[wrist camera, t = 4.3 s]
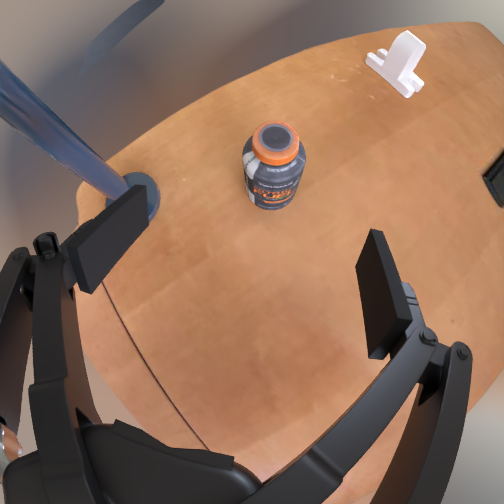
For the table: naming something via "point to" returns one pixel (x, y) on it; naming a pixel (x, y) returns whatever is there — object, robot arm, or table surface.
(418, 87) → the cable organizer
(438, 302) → the table surface
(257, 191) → the pill bottle
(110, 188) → the square tray stand
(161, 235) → the table surface
